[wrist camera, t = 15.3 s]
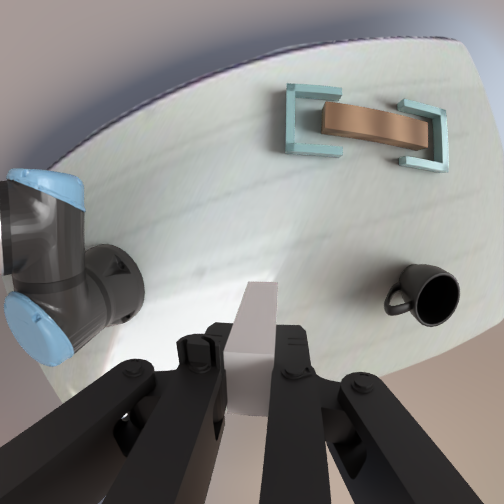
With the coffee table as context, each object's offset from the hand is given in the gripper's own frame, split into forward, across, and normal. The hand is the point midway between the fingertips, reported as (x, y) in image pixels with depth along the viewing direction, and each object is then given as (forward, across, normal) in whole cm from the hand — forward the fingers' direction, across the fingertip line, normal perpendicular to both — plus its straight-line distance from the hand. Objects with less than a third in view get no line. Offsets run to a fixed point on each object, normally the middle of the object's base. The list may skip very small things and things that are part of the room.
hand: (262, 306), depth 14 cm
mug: (+28, +22, -8) cm, 37 cm away
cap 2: (+28, +24, +16) cm, 40 cm away
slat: (+29, +15, +16) cm, 36 cm away
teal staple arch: (+29, +6, +16) cm, 33 cm away
